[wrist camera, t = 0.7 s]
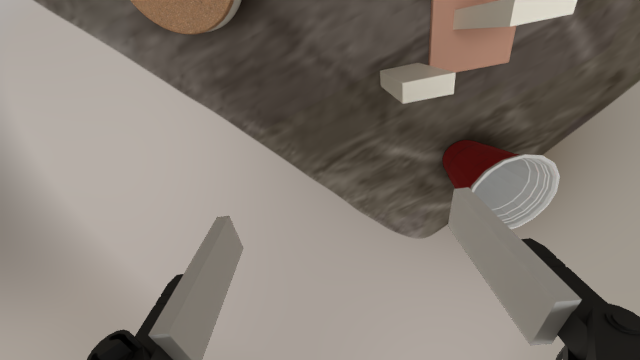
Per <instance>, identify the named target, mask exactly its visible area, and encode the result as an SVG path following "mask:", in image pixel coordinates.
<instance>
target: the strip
mask: <svg viewBox="0 0 640 360" xmlns="http://www.w3.org/2000/svg"><path fill="white" fill-rule="evenodd" d="M493 1H498V0H431V17H430V38H429V59H428V65H429V66H433V67H437V68H441V69H444V70H448V71H452V72H461V71H466V70H471V69H476V68H481V67H487V66H492V65H497V64H502V63H507V62H509V58H510V53H511V49H512V44H513V39H514V34H515V29H516V25H515V26H511V27H494V28H476V29H457V30H453V22H454V11H455V10H456V9H461V8H465V7H470V6H475V5H479V4H484V3H489V2H493Z"/></svg>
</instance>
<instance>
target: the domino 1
mask: <svg viewBox="0 0 640 360" xmlns="http://www.w3.org/2000/svg"><path fill="white" fill-rule="evenodd" d="M455 74H456V72H452V71H448V70H444V69H441V68H437V67H433V66H429V65H425V64H421V63H414V64H409V65H405V66H400V67H395V68H390V69H386V70H381V71H380V81H381V87H382V88H384V89H385V90H386V91H387V92H389V93H390V94H391V95H392V96H394V97H395V98H396V99H397V100H399V101H400V102H401V103H402V104H404V103H409V102H414V101H419V100H425V99H430V98H435V97H440V96H445V95H450V94H454V84H455Z"/></svg>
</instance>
